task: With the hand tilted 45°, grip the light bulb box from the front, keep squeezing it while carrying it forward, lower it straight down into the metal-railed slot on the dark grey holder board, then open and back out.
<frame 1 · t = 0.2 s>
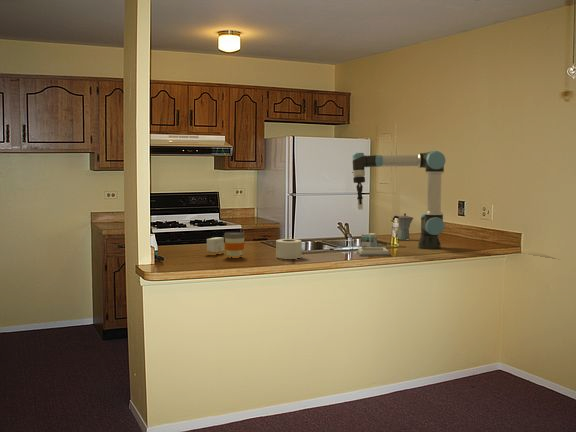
hand: (360, 209, 409), 27 cm above the worktop, tool pointing down, fingers open, 13 cm apart
moka pot: (402, 240, 469), on the worktop
slot holder: (372, 253, 395), on the worktop
reusable coffee cup: (234, 257, 382), on the worktop
skincare box: (215, 254, 395), on the worktop
cream short cylinder: (288, 258, 379), on the worktop
light bulb box: (369, 250, 414), on the worktop
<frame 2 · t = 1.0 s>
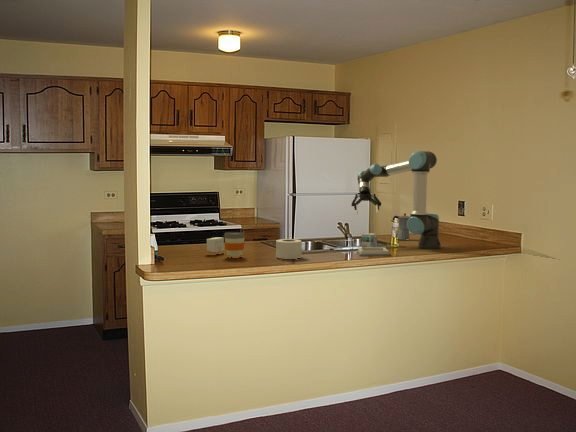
hand: (367, 213, 422), 24 cm above the worktop, tool tilted 45°, fingers open, 13 cm apart
nothing on the worktop moved.
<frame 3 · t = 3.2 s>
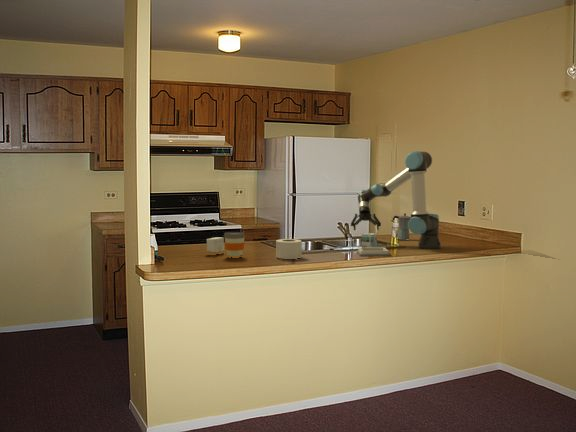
hand: (366, 233, 419), 10 cm above the worktop, tool tilted 45°, fingers open, 13 cm apart
nothing on the worktop moved.
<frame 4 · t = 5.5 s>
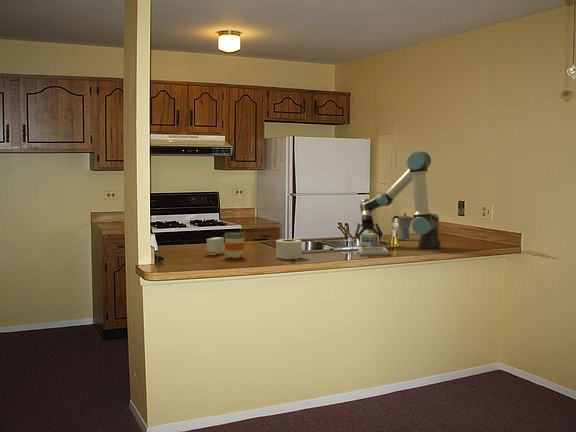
hand: (369, 244, 411), 4 cm above the worktop, tool tilted 45°, fingers closed on light bulb box, 11 cm apart
light bulb box: (369, 250, 414), on the worktop, touching gripper
everything else where it was.
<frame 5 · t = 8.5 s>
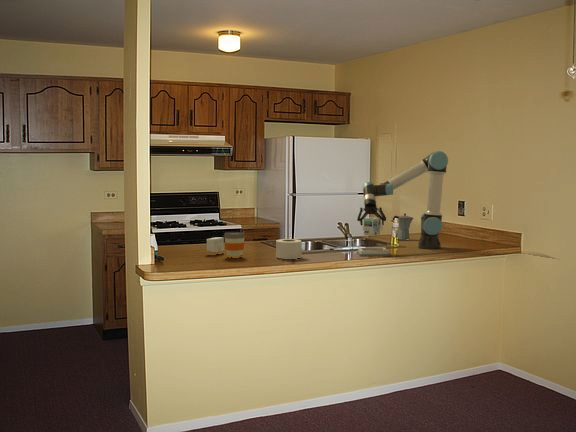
hand: (372, 228, 392), 16 cm above the worktop, tool tilted 45°, fingers closed on light bulb box, 11 cm apart
light bulb box: (372, 235, 395), point 12 cm above the worktop, touching gripper
everything else where it was.
when the fingers open (7 cm above the worktop, at t = 11.4 s): light bulb box drops 1 cm, resting on slot holder.
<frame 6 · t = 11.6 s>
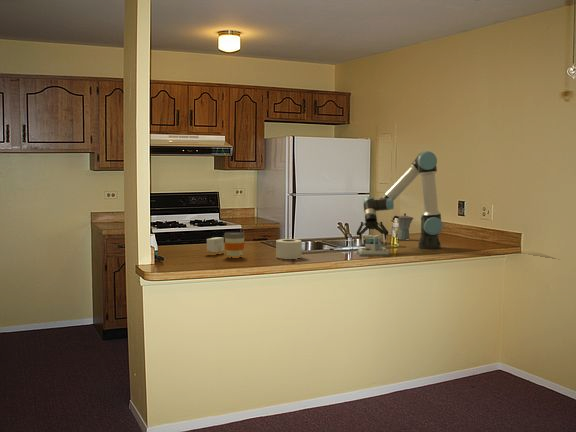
hand: (373, 243, 392), 7 cm above the worktop, tool tilted 45°, fingers open, 13 cm apart
light bulb box: (373, 252, 395), point 1 cm above the worktop, touching slot holder
everything else where it was.
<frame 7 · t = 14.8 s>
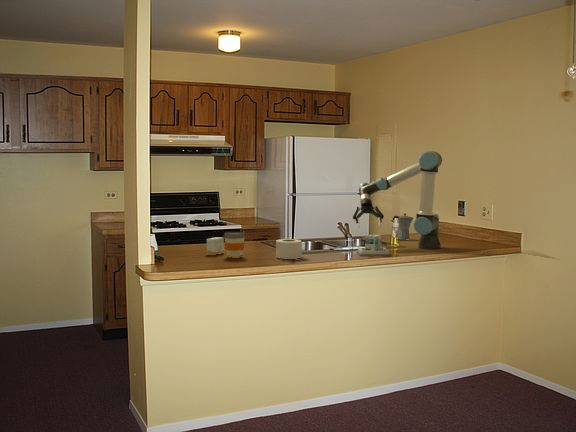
hand: (369, 226, 407), 16 cm above the worktop, tool tilted 45°, fingers open, 13 cm apart
nothing on the worktop moved.
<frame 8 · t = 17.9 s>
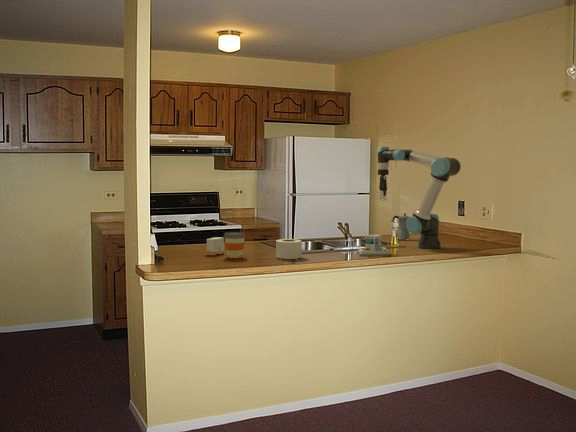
hand: (382, 200, 433), 32 cm above the worktop, tool pointing down, fingers open, 13 cm apart
nothing on the worktop moved.
at the end: light bulb box 0.2 cm off-centre on the slot holder, point 0.8 cm above the slot holder's base; light bulb box tilted 0°; the gripper is holding nothing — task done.
